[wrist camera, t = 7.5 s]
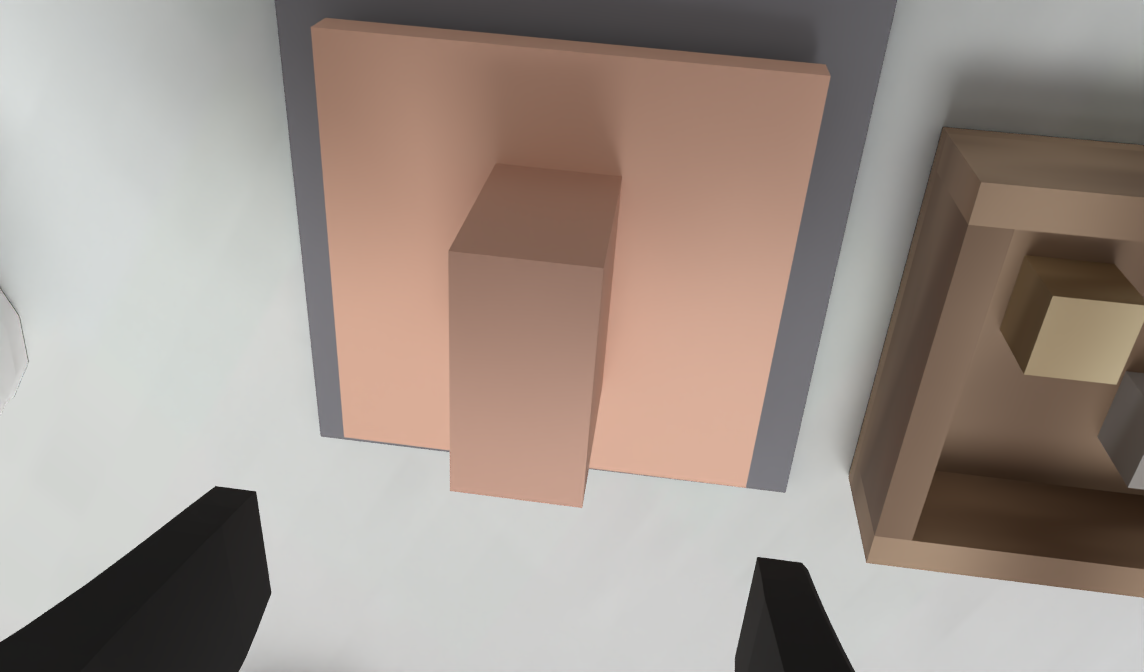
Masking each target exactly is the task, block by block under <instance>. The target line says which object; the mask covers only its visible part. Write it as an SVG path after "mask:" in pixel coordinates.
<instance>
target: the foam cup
mask: <svg viewBox="0 0 1144 672" xmlns="http://www.w3.org/2000/svg"><path fill="white" fill-rule="evenodd" d="M27 364H28V359H27V354H26V349H25V344H24V339H23V334H22V329H21V324H20V319H19V316H18V314H17V313H16V311H15V310H14V308H13V307H12V305H11V304H10V302H9V301H8V299H7V298H6V296H5V295H4V294H3V292H2V291H1V289H0V415H1V414H2V412H3V409H4V407H5V405H6V404H7V403H8V402H9V401H10V400H11V399H12V398H14V396H15V394H16V391H17V389H18V386H19V384H20V381H21V379H22V376H23V374H24V371H25V369H26V367H27Z"/></svg>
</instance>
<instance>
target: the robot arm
mask: <svg viewBox="0 0 1144 672" xmlns="http://www.w3.org/2000/svg"><path fill="white" fill-rule="evenodd" d="M270 595H271V587H270V581H269V574H268V568H267V561H266V554H265V548H264V541H263V535H262V528H261V521H260V515H259V508H258V501H257V495H256V491H248V490H240V489H233V488H225V487H217V486H215V487H214V488H213V489H211V490H210V491H209V492H207V493H206V494H205V495H203V496H202V497H201V498H199V499H198V500H197V501H195V502H194V503H193V504H191V505H190V506H189V507H187V508H186V509H185V510H184V511H182V512H181V513H180V514H178V515H177V516H176V517H174V518H173V519H172V520H171V521H169V522H168V523H167V524H165V525H164V526H163V527H162V528H160V529H159V530H158V531H156V532H155V533H154V534H152V535H151V536H150V537H149V538H147V539H146V540H145V541H143V542H142V543H141V544H139V545H138V546H137V547H136V548H134V549H133V550H132V551H130V552H129V553H128V554H126V555H125V556H124V557H122V558H121V559H120V560H118V561H117V562H116V563H114V564H113V565H112V566H110V567H109V568H108V569H106V570H105V571H103V572H102V573H101V574H99V575H98V576H97V577H95V578H94V579H93V580H91V581H90V582H89V583H87V584H86V585H85V586H83V587H82V588H80V589H79V590H77V591H76V592H74V593H73V594H71V595H70V596H69V597H67V598H66V599H64V600H63V601H61V602H60V603H58V604H57V605H55V606H54V607H53V608H51V609H50V610H48V611H47V612H45V613H44V614H42V615H41V616H39V617H38V618H37V619H35V620H34V621H32V622H31V623H29V624H28V625H26V626H25V627H23V628H22V629H20V630H19V631H17V632H16V633H14V634H12V635H11V636H9V637H8V638H6V639H5V640H3V641H1V642H0V672H239V670H240V668H241V666H242V664H243V662H244V660H245V658H246V656H247V654H248V651H249V649H250V646H251V644H252V641H253V639H254V637H255V634H256V632H257V629H258V627H259V624H260V621H261V619H262V616H263V613H264V611H265V608H266V606H267V603H268V600H269V598H270ZM735 672H855V671H854V669H853V667H852V665H851V663H850V661H849V659H848V657H847V655H846V653H845V651H844V650H843V648H842V646H841V643H840V641H839V639H838V637H837V635H836V633H835V631H834V629H833V627H832V625H831V623H830V620H829V618H828V616H827V614H826V612H825V610H824V607H823V605H822V603H821V600H820V598H819V596H818V594H817V591H816V589H815V586H814V584H813V581H812V579H811V576H810V574H809V571H808V569H807V568H806V567H805V566H804V565H803V564H802V563H800V562H792V561H784V560H777V559H769V558H761V557H757V561H756V566H755V570H754V575H753V579H752V584H751V588H750V593H749V597H748V602H747V606H746V611H745V615H744V620H743V624H742V629H741V633H740V638H739V642H738V647H737V651H736V656H735Z"/></svg>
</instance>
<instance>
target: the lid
mask: <svg viewBox="0 0 1144 672" xmlns="http://www.w3.org/2000/svg"><path fill="white" fill-rule="evenodd" d="M311 37H312V49H313V61H314V74H315V86H316V98H317V110H318V123H319V135H320V147H321V160H322V172H323V184H324V196H325V209H326V221H327V233H328V246H329V258H330V270H331V282H332V295H333V307H334V319H335V332H336V344H337V356H338V368H339V381H340V393H341V405H342V418H343V430H344V437H346V438H354V439H362V440H370V441H378V442H386V443H394V444H402V445H410V446H418V447H426V448H434V449H442V450H450V491H455V492H463V493H471V494H479V495H486V496H494V497H502V498H510V499H518V500H525V501H533V502H541V503H549V504H556V505H564V506H572V507H580V508H582V506H583V500H584V494H585V488H586V482H587V476H588V470H589V468H593V469H601V470H609V471H617V472H625V473H633V474H640V475H648V476H656V477H664V478H672V479H680V480H688V481H696V482H704V483H712V484H720V485H728V486H736V487H744V488H746V484H747V479H748V475H749V470H750V465H751V460H752V455H753V450H754V446H755V441H756V436H757V431H758V426H759V421H760V416H761V412H762V407H763V402H764V397H765V392H766V387H767V382H768V378H769V373H770V368H771V363H772V358H773V353H774V349H775V344H776V339H777V334H778V329H779V324H780V319H781V315H782V310H783V305H784V300H785V295H786V290H787V286H788V281H789V276H790V271H791V266H792V261H793V256H794V252H795V247H796V242H797V237H798V232H799V227H800V222H801V218H802V213H803V208H804V203H805V198H806V193H807V189H808V184H809V179H810V174H811V169H812V164H813V159H814V155H815V150H816V145H817V140H818V135H819V130H820V125H821V121H822V116H823V111H824V106H825V101H826V96H827V92H828V87H829V82H830V77H831V75H830V73H829V71H828V69H827V66H826V64H816V63H806V62H795V61H784V60H773V59H763V58H752V57H741V56H730V55H720V54H709V53H698V52H688V51H677V50H666V49H655V48H645V47H634V46H623V45H612V44H602V43H591V42H580V41H570V40H559V39H548V38H537V37H527V36H516V35H505V34H494V33H484V32H473V31H462V30H452V29H441V28H430V27H419V26H409V25H398V24H387V23H376V22H366V21H355V20H344V19H333V18H324V19H323V20H321V21H320V22H318V23H316V24H315V25H313V26H312V27H311Z"/></svg>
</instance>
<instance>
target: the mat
mask: <svg viewBox="0 0 1144 672" xmlns="http://www.w3.org/2000/svg"><path fill="white" fill-rule="evenodd" d="M896 3H897V0H275V6H276V16H277V25H278V35H279V44H280V54H281V63H282V73H283V82H284V92H285V101H286V111H287V120H288V130H289V139H290V149H291V158H292V168H293V177H294V187H295V196H296V206H297V215H298V225H299V234H300V244H301V253H302V263H303V272H304V282H305V291H306V301H307V310H308V320H309V329H310V339H311V348H312V358H313V367H314V377H315V386H316V396H317V406H318V415H319V425H320V434H321V436H322V437H330V438H338V439H347V440H355V441H363V442H371V443H380V444H388V445H396V446H404V447H413V448H421V449H429V450H437V451H446V452H450V450H442V449H434V448H426V447H418V446H410V445H402V444H394V443H386V442H378V441H370V440H362V439H354V438H346V437H344V430H343V418H342V405H341V393H340V381H339V368H338V356H337V344H336V332H335V319H334V307H333V295H332V282H331V270H330V258H329V246H328V233H327V221H326V209H325V196H324V184H323V172H322V160H321V147H320V135H319V123H318V110H317V98H316V86H315V74H314V61H313V49H312V37H311V27H312V26H313V25H315V24H316V23H318V22H320V21H321V20H323V19H324V18H333V19H344V20H355V21H366V22H376V23H387V24H398V25H409V26H419V27H430V28H441V29H452V30H462V31H473V32H484V33H494V34H505V35H516V36H527V37H537V38H548V39H559V40H570V41H580V42H591V43H602V44H612V45H623V46H634V47H645V48H655V49H666V50H677V51H688V52H698V53H709V54H720V55H730V56H741V57H752V58H763V59H773V60H784V61H795V62H806V63H816V64H826V66H827V69H828V71H829V73H830V75H831V77H830V82H829V87H828V92H827V96H826V101H825V106H824V111H823V116H822V121H821V125H820V130H819V135H818V140H817V145H816V150H815V155H814V159H813V164H812V169H811V174H810V179H809V184H808V189H807V193H806V198H805V203H804V208H803V213H802V218H801V222H800V227H799V232H798V237H797V242H796V247H795V252H794V256H793V261H792V266H791V271H790V276H789V281H788V286H787V290H786V295H785V300H784V305H783V310H782V315H781V319H780V324H779V329H778V334H777V339H776V344H775V349H774V353H773V358H772V363H771V368H770V373H769V378H768V382H767V387H766V392H765V397H764V402H763V407H762V412H761V416H760V421H759V426H758V431H757V436H756V441H755V446H754V450H753V455H752V460H751V465H750V470H749V475H748V479H747V484H746V488H752V489H760V490H768V491H776V492H786V487H787V483H788V479H789V474H790V470H791V465H792V461H793V457H794V452H795V448H796V443H797V439H798V435H799V430H800V426H801V421H802V417H803V413H804V408H805V404H806V399H807V395H808V391H809V386H810V382H811V377H812V373H813V369H814V364H815V360H816V355H817V351H818V347H819V342H820V338H821V333H822V329H823V325H824V320H825V316H826V311H827V307H828V303H829V298H830V294H831V289H832V285H833V281H834V276H835V272H836V267H837V263H838V258H839V254H840V250H841V245H842V241H843V236H844V232H845V228H846V223H847V219H848V214H849V210H850V206H851V201H852V197H853V192H854V188H855V184H856V179H857V175H858V170H859V166H860V162H861V157H862V153H863V148H864V144H865V140H866V135H867V131H868V126H869V122H870V118H871V113H872V109H873V104H874V100H875V96H876V91H877V87H878V82H879V78H880V74H881V69H882V65H883V60H884V56H885V52H886V47H887V43H888V38H889V34H890V30H891V25H892V21H893V16H894V12H895V8H896ZM589 469H593V468H589ZM594 470H601V469H594ZM603 471H609V470H603ZM611 472H617V471H611ZM619 473H625V472H619ZM628 474H633V473H628ZM636 475H640V474H636ZM644 476H648V475H644ZM652 477H656V476H652ZM661 478H664V477H661ZM669 479H672V478H669ZM677 480H680V479H677ZM685 481H688V480H685ZM694 482H696V481H694ZM702 483H704V482H702ZM710 484H712V483H710ZM718 485H720V484H718ZM727 486H728V485H727ZM735 487H736V486H735ZM743 488H744V487H743Z"/></svg>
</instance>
